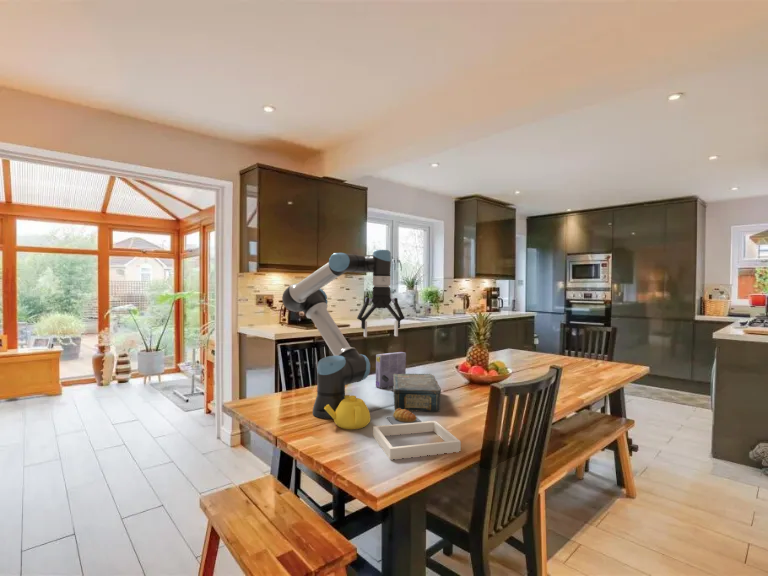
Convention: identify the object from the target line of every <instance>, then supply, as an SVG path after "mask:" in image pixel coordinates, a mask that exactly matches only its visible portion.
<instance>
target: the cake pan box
mask: <svg viewBox="0 0 768 576" xmlns="http://www.w3.org/2000/svg"><path fill="white" fill-rule="evenodd" d="M406 366H407V352H403V351H398V352H388V353H378V354H376V355H375V388H379V389H386V388H393V387H394V383H393V374H407V371H406V369H407V368H406Z"/></svg>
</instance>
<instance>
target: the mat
mask: <svg viewBox="0 0 768 576" xmlns="http://www.w3.org/2000/svg"><path fill="white" fill-rule="evenodd" d="M386 420H387V421H388V422H389V423H390V425H393V424H405V423H416V422H423V421H422V420H420V418H418V417H417V418H416V421H414V422H403V421H399V420H398V419H395V418H394V417H393V415H392V416H386Z"/></svg>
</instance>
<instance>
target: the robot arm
mask: <svg viewBox="0 0 768 576" xmlns="http://www.w3.org/2000/svg"><path fill="white" fill-rule="evenodd" d="M328 259H329V260H328V262H327V263H325V264H324V265H323V266H321V267H319V268H318V269H317V270H315V271H313V272H312V273H311V274H309V275H308V276H306V277H305V278H304V279H302V280H301V281H299V282H298V283H295V282H294V283H292V284H290V285H289V286H288V287H287V288H286V289H285V290H284V291H283V293H282V296H281V298H282V299H281V300H282V303H283V305H284V307H285V309H287V310H288V311H291V312H293V313H295V312H297V313H299V312H303V314H304V315H305V317H306V319H311V321H312V323H313V324H314V326H315V327H316V329H317V331H318V332H319V334H320V335H321V337H322V339H323V341H324V342H325V344H326V345H327V347H328V348H329V350H330V352H331V353H332V355H329V356H324V357H323V358H321V359H319V361H318V362H317V369H316V371H317V375H316V378H317V381H316V385H317V388H316V389H317V390H316V391H317V393H316V398H315V400H314V404H313V407H312V415H313V416H314V417H316V418H319V419H329V420H330V419H333V418H332V417H331V416H330V415H329V414H328V412H327V411H326V410H325V409H324V407H325V406H326V405H328V404H329V405H330V407H331V408H332V409H333V410H334V412H335V411H336V409H337V407H338V405H339V404H340V402H341V401H342V400H343V399H345V395H346V386H347V385H351V384H354V383H360V382H361V381H364V380H365V379H367V378H368V376H369V374H370V372H371V363H370V359H369V358H368V357H367V356H366V355H365V354H362V353H359V352H358V350H357V348H355V347H352V346H351V345H350V343H349V342H348V341H347V339H346V337H345V336H344V335H343V333H342V330H341V329H340V328H339V326H338V325H337V324H336V322H335V320H334V319H333V317H332V316H331V314H330V313H329V310H328V307H329V306H328V296H327V293H326V292H325V290H323V289H322V288H323V287H325V286H326V285H328V284H329V283H331V282H333V281H334V280H335V279H337V278H339V277H340V276H342V275H344V274H345V273H358V274H361V273H372V285H373V287H372V297H370V298H369V297H365V298H364V303H363V305H362V307H361V309H360V311H359V313H358V315H357V317H356V319H357V320H358V321H361V323H360V324H361V326H360V327H361V329H362V330H363V337H364V338H367V337H368V321H367V319H368V318H369V317H370V316H371V314H372V313H373V312H374V311H375V310H376V309H387V310H388V312H390V314H391V315H392V317H393V318H394V319H395V320H394V323H393V324H394V327H393V328H394V329H393V330H394V331H393V333H394V334H393V336H394V337H399V329H400V328H401V321H402V320H404V319H405V316H404V313H403V311H402V309H401V307H400V305H399V302H398V297H392V298H391V287H390V286H391V268H392V256H391V251H390V250H388V249H374V250H373V252H372V254H370V255H369V254H367V255H365V254H357V253H356V254H355V253H353V254H352V253H345V252H333V254H331V255H330V257H329V258H328ZM391 302H392V303H393V305H394V307H395V310H396V311H395V310H394V309H393V307H392V305H390V303H391ZM370 303H372V305H371V306H370V308H369V309H368V310H367V308H368V306H369V304H370ZM366 310H367V312H366ZM396 312H397V313H396ZM333 420H334V419H333Z"/></svg>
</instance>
